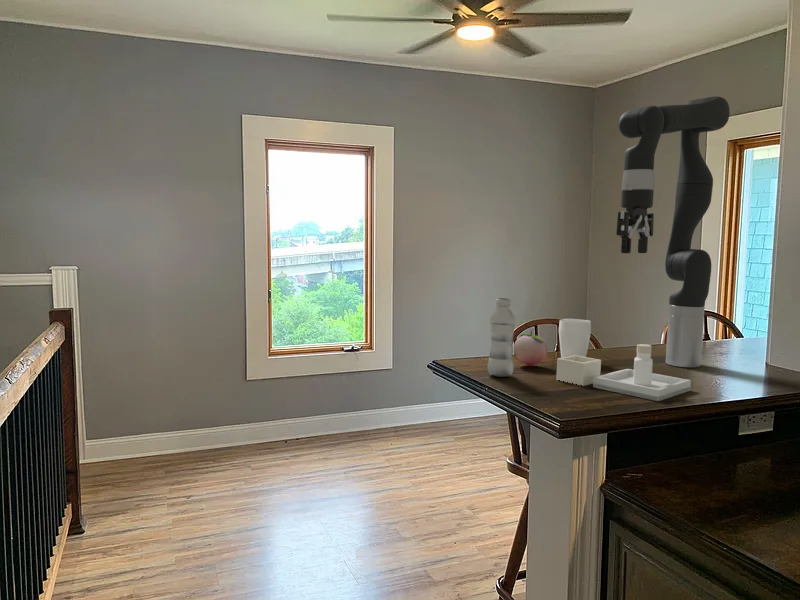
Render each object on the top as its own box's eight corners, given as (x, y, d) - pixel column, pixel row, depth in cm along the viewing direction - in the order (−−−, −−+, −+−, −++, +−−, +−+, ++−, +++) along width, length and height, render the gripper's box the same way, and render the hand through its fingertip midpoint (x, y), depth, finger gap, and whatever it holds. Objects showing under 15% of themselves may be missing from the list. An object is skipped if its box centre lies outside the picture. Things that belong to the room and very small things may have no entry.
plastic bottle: (491, 372, 158) (494, 297, 156) (516, 375, 155) (519, 298, 153) (483, 377, 152) (486, 298, 150) (509, 380, 149) (512, 300, 147)
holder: (573, 376, 155) (574, 355, 155) (599, 381, 150) (601, 359, 149) (556, 380, 150) (557, 358, 150) (583, 385, 145) (584, 363, 144)
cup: (591, 365, 170) (593, 323, 169) (558, 363, 172) (560, 321, 170) (587, 359, 179) (589, 319, 177) (556, 357, 180) (558, 318, 179)
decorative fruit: (506, 365, 168) (507, 330, 167) (526, 362, 172) (527, 327, 171) (532, 371, 160) (533, 334, 159) (552, 368, 165) (553, 332, 164)
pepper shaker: (633, 381, 146) (635, 343, 145) (651, 383, 144) (653, 344, 143) (632, 385, 142) (635, 345, 141) (651, 387, 140) (653, 347, 139)
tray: (626, 378, 154) (627, 368, 154) (690, 390, 142) (690, 380, 142) (593, 387, 144) (593, 376, 143) (658, 401, 132) (659, 390, 131)
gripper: (637, 191, 159) (634, 252, 160) (609, 187, 150) (606, 253, 151) (665, 190, 153) (661, 253, 155) (637, 186, 144) (634, 253, 146)
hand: (634, 253), depth 153 cm, fingers open, 8 cm apart
